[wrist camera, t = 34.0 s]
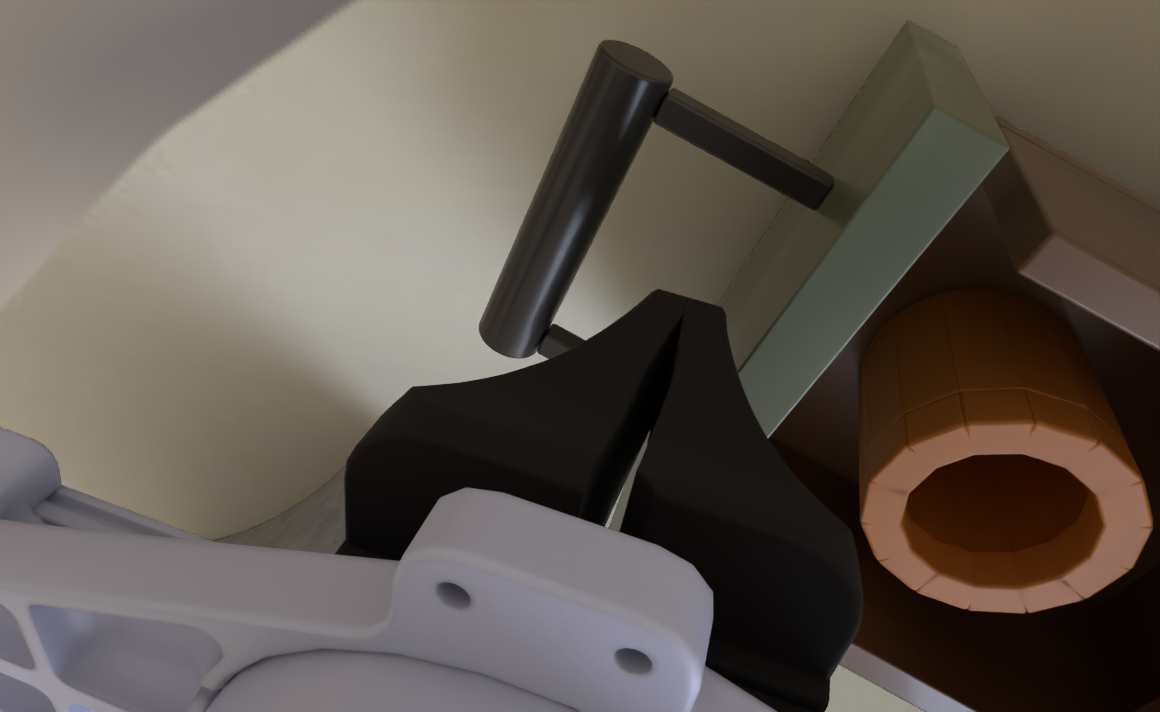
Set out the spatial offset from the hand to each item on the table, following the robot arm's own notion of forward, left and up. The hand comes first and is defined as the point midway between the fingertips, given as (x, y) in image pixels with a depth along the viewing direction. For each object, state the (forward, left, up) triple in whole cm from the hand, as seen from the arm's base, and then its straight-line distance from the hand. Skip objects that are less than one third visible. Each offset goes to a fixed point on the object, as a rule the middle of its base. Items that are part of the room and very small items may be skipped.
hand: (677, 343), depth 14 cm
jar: (0, +7, -5) cm, 8 cm away
